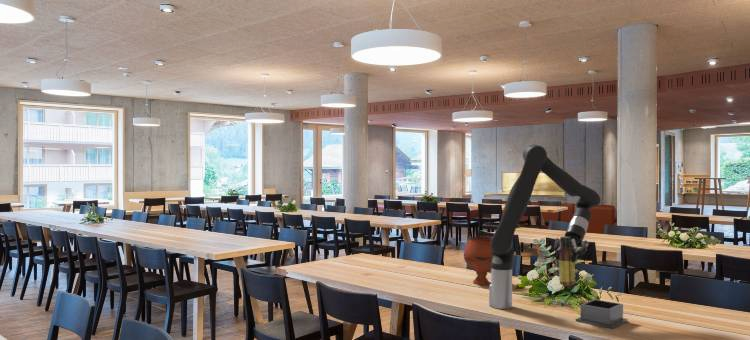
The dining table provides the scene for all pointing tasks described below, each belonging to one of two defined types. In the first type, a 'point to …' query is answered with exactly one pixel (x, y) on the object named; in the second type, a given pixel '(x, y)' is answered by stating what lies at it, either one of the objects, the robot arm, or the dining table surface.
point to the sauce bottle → (566, 263)
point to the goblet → (479, 257)
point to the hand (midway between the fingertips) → (564, 260)
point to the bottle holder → (602, 314)
